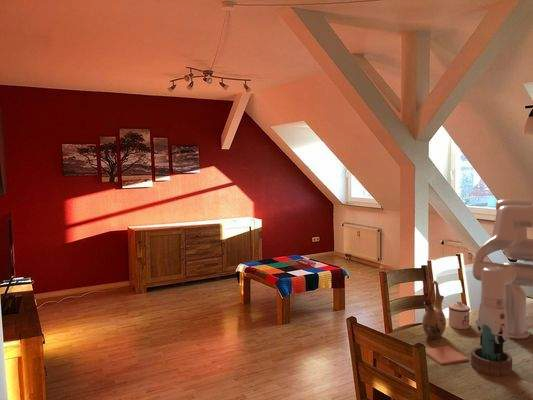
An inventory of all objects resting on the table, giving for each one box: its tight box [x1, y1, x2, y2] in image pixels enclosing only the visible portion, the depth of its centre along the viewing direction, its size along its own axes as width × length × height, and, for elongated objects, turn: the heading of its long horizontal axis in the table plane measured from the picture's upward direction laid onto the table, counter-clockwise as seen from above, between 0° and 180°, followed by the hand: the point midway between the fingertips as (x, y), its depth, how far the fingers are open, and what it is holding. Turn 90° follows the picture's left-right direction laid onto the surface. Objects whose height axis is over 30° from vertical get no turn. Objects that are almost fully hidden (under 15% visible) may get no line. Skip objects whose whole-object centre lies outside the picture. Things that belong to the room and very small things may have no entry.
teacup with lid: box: [448, 300, 471, 330], centre depth 200 cm, size 12×9×12 cm
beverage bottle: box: [481, 325, 501, 362], centre depth 158 cm, size 6×7×20 cm
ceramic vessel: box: [421, 280, 447, 340], centre depth 186 cm, size 16×9×25 cm, turn 138°
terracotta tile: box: [425, 345, 469, 366], centre depth 169 cm, size 12×12×1 cm
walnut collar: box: [470, 346, 513, 378], centre depth 158 cm, size 13×13×5 cm
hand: (491, 348), depth 158 cm, fingers closed on beverage bottle, 6 cm apart
